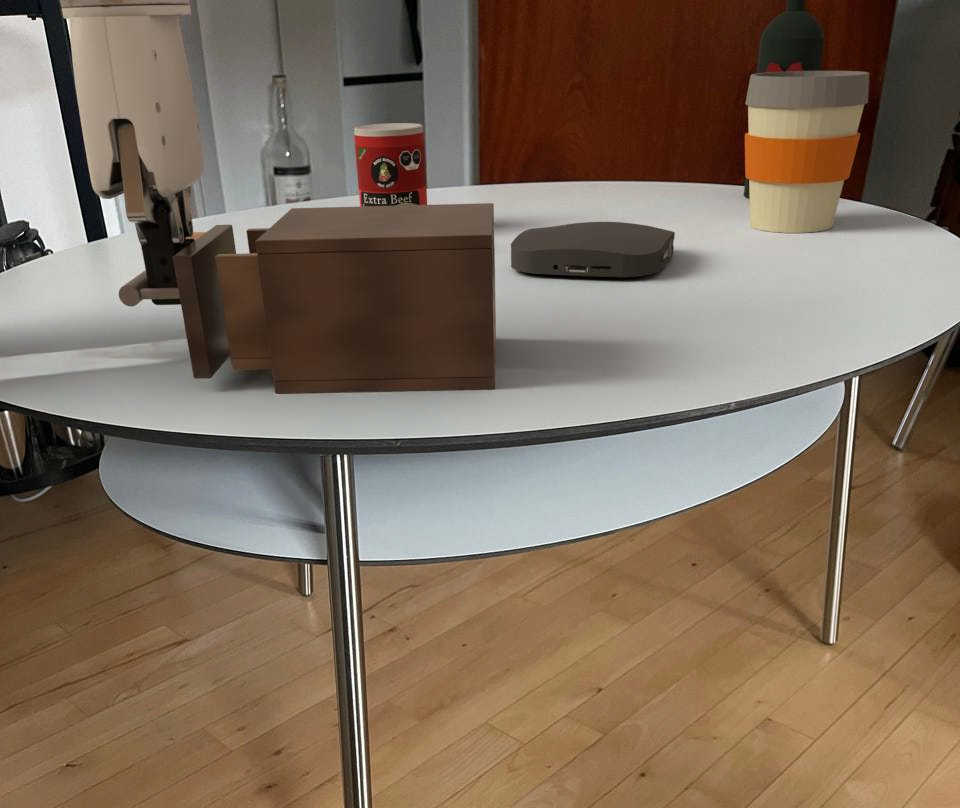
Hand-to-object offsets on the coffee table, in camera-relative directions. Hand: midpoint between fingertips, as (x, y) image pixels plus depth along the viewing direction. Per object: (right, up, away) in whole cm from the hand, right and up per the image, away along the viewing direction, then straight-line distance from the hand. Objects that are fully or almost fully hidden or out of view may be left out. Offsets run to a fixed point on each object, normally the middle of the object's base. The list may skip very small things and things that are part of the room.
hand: (178, 301), depth 71 cm
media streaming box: (+32, +13, +29) cm, 46 cm away
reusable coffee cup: (+56, +23, +44) cm, 75 cm away
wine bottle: (+59, +34, +62) cm, 92 cm away
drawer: (+6, -3, +2) cm, 7 cm away
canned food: (+11, +24, +48) cm, 54 cm away
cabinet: (+15, -4, +2) cm, 15 cm away
